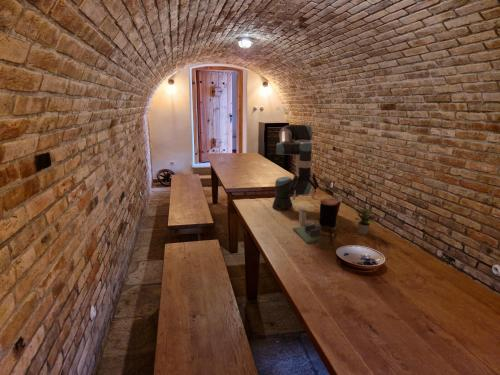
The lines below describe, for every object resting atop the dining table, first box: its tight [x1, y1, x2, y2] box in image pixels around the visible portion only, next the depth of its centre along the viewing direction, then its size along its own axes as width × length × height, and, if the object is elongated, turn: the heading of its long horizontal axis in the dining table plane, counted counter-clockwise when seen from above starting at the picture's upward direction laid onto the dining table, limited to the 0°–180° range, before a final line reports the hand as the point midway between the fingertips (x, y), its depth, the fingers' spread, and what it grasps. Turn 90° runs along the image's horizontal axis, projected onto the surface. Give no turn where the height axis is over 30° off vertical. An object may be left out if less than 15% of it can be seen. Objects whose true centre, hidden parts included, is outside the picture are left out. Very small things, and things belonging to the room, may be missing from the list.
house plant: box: [354, 207, 377, 235], centre depth 194 cm, size 14×14×16 cm
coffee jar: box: [318, 198, 338, 228], centre depth 202 cm, size 11×11×18 cm
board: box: [292, 221, 321, 245], centre depth 193 cm, size 20×16×6 cm
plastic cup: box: [328, 197, 343, 216], centre depth 223 cm, size 11×11×12 cm
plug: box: [298, 208, 307, 227], centre depth 209 cm, size 5×3×10 cm, turn 17°
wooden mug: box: [316, 220, 343, 250], centre depth 175 cm, size 9×14×18 cm, turn 44°
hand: (303, 198), depth 205 cm, fingers open, 13 cm apart
